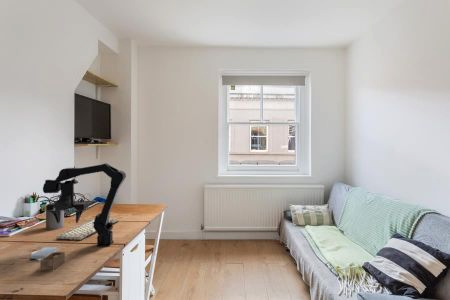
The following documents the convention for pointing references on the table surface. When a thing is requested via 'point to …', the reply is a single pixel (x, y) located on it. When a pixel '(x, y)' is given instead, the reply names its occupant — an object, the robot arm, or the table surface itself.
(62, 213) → the pillar candle
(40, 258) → the external hard drive
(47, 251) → the lid
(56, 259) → the box
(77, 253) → the table surface
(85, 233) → the mechanical keyboard
